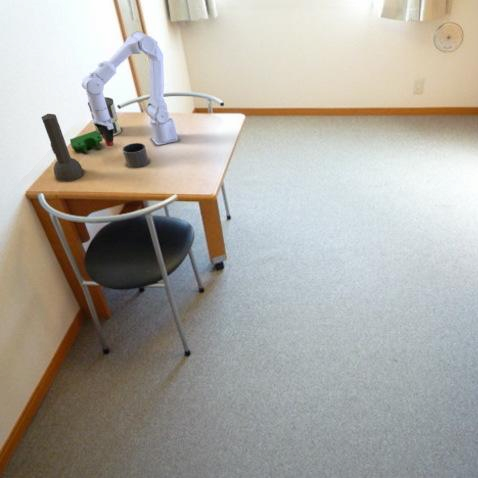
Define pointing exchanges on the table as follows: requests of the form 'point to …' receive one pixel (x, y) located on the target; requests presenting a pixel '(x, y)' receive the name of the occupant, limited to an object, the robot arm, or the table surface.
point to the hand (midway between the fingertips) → (108, 140)
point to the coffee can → (112, 114)
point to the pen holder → (135, 155)
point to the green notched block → (86, 141)
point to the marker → (106, 141)
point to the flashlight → (61, 151)
